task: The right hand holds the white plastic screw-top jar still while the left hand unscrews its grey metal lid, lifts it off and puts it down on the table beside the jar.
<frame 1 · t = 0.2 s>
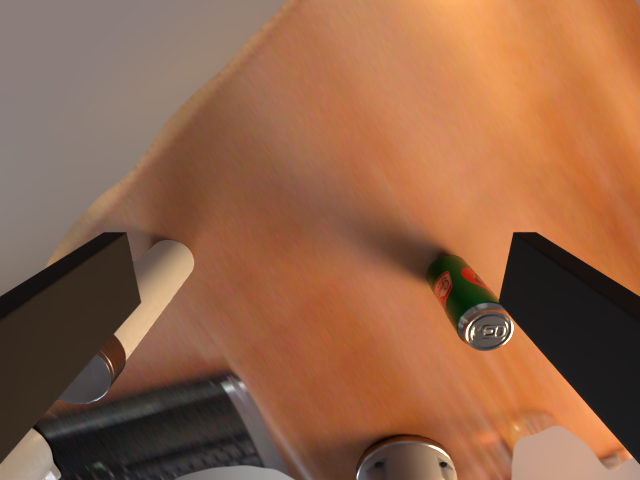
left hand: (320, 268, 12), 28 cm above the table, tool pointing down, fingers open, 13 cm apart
lid: (72, 369, 26), point 19 cm above the table, screwed on, not yet turned
soda can: (445, 271, 44), on the table
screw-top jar: (172, 260, 43), on the table
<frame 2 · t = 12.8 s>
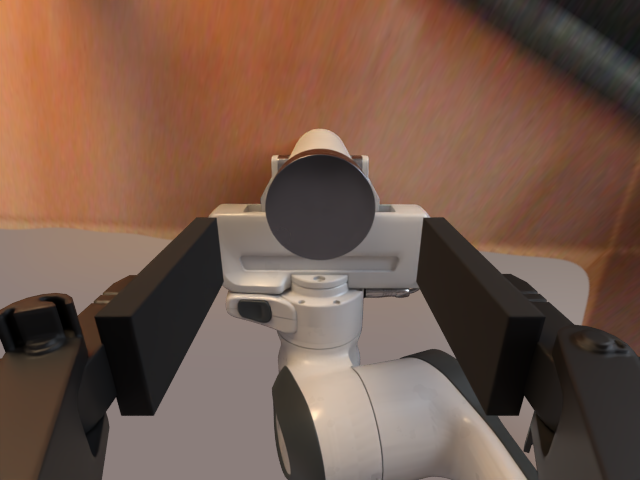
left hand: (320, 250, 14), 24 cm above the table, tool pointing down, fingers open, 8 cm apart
right hand: (319, 155, 31), fingers closed on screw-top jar, 5 cm apart
lid: (320, 208, 19), point 19 cm above the table, screwed on, not yet turned
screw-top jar: (319, 156, 36), on the table, touching right hand
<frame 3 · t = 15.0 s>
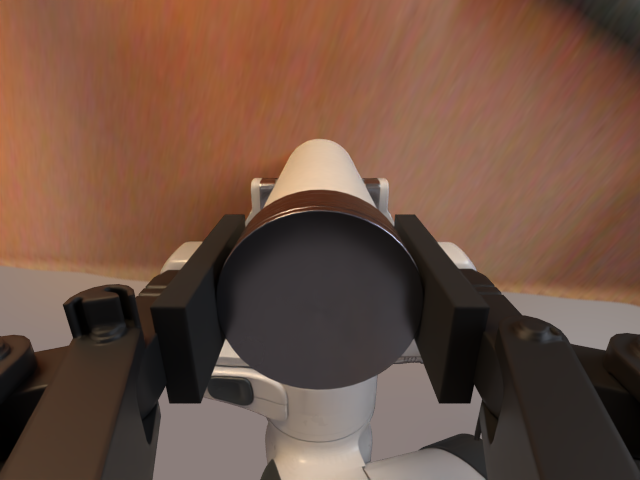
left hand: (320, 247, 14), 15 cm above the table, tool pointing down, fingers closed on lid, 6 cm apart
lid: (319, 303, 10), point 19 cm above the table, screwed on, not yet turned, touching left hand
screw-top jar: (319, 174, 28), on the table, touching right hand
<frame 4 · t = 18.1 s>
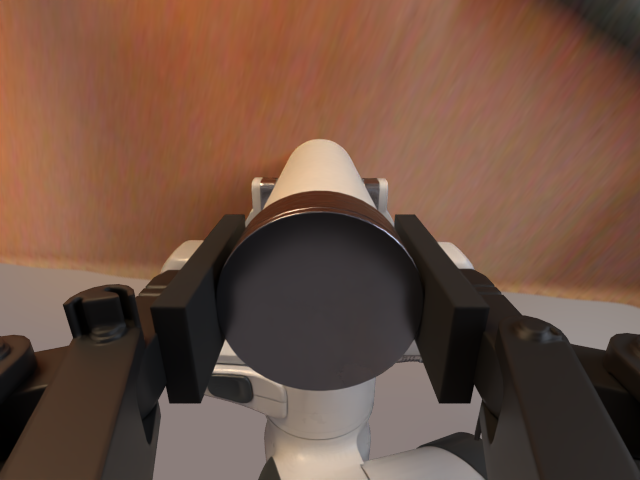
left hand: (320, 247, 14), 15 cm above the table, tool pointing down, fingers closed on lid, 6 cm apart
lid: (319, 304, 10), point 19 cm above the table, turned 80° so far, risen 0.2 cm, still on its thread, touching left hand
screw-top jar: (319, 174, 28), on the table, touching right hand
when the left hand's fingers open (0 cm above the table, at t = 26.7 s): lid stays where it is, point 2 cm above the table.
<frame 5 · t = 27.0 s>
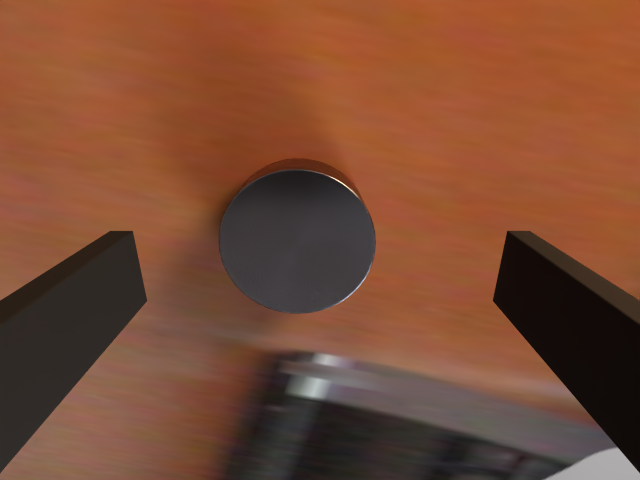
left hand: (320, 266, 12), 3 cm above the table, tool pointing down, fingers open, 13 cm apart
lid: (297, 243, 14), point 2 cm above the table, off its thread
when the right hand's fingers open (6 cm above the table, at t = 27.5 s): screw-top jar stays where it is, on the table.
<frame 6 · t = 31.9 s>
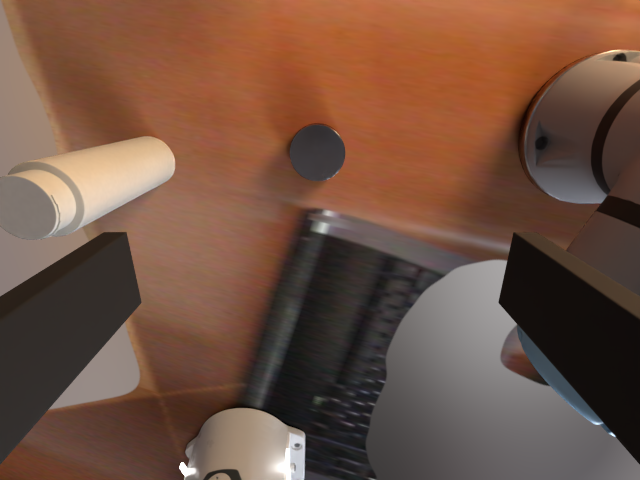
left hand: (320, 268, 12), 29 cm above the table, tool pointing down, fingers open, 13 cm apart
lid: (317, 153, 38), point 2 cm above the table, off its thread
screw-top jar: (151, 160, 40), on the table
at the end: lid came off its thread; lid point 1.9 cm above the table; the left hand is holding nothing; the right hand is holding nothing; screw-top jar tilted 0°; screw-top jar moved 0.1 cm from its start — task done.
